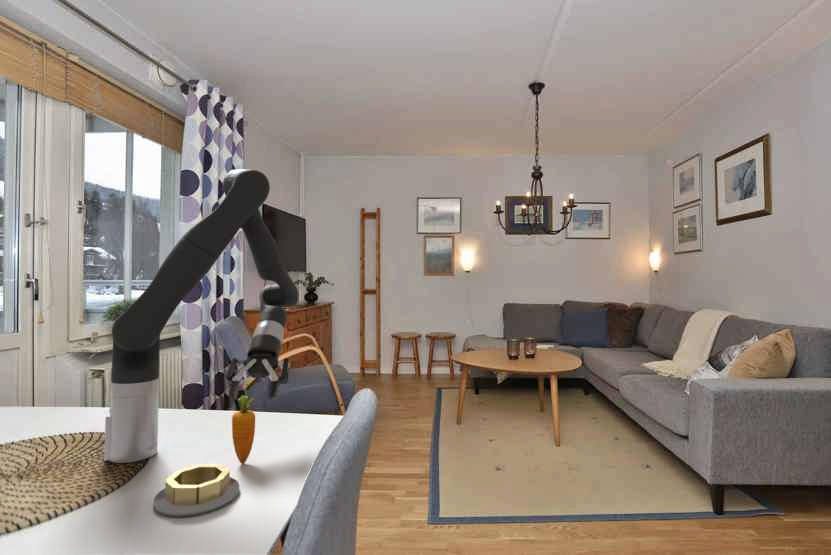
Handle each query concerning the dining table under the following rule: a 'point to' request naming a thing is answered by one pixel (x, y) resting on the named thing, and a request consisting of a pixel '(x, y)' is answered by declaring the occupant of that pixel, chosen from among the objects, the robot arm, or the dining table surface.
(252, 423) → the carrot
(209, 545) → the dining table surface
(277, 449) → the dining table surface
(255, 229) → the robot arm
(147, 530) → the dining table surface
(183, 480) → the hub socket
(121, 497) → the dining table surface
